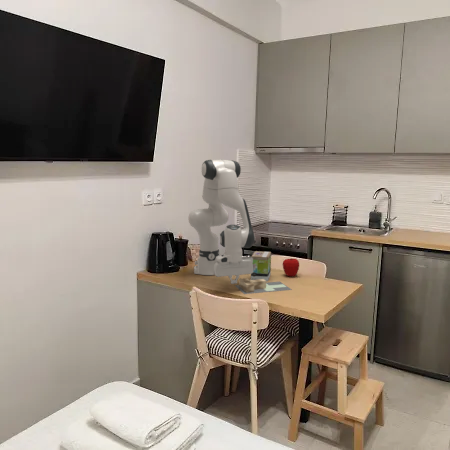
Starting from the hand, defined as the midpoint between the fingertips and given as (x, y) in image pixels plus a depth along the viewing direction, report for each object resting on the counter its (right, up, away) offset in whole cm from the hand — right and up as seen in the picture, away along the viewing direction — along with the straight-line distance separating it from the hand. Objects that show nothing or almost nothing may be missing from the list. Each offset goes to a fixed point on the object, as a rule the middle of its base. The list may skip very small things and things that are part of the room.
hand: (233, 283), depth 215 cm
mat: (+15, -4, +5) cm, 17 cm away
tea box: (+16, -1, +25) cm, 30 cm away
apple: (+34, 0, +31) cm, 46 cm away
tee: (+11, -3, +4) cm, 12 cm away
